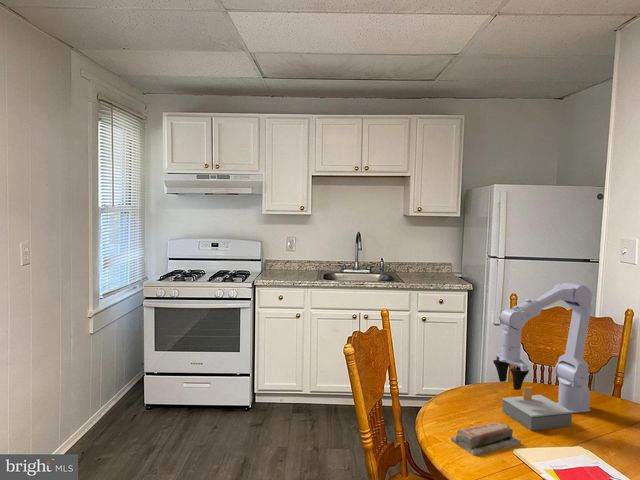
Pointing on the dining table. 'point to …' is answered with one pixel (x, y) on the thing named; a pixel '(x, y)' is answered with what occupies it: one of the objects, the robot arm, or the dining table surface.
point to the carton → (537, 419)
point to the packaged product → (485, 438)
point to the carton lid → (536, 404)
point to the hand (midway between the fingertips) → (509, 385)
